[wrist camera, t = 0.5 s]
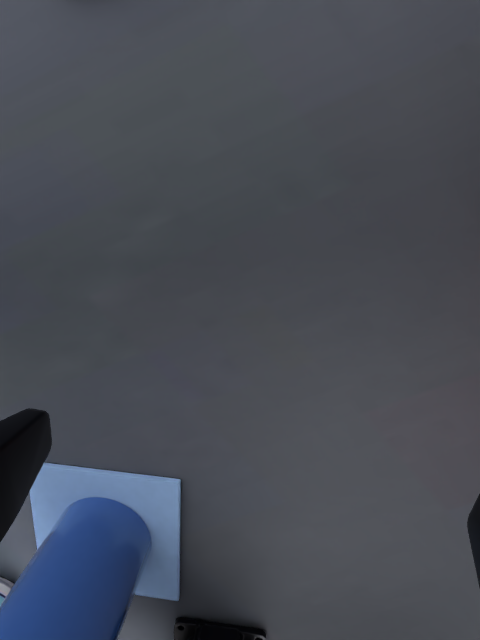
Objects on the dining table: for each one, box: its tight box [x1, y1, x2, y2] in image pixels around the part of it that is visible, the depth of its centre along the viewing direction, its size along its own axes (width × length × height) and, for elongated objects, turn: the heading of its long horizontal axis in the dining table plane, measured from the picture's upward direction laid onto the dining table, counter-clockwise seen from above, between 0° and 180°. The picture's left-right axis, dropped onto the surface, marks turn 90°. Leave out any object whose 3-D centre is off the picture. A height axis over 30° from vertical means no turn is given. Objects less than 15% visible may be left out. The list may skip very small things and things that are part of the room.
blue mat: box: [30, 463, 181, 601], centre depth 29 cm, size 10×10×1 cm
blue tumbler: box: [0, 497, 152, 640], centre depth 23 cm, size 6×6×13 cm
